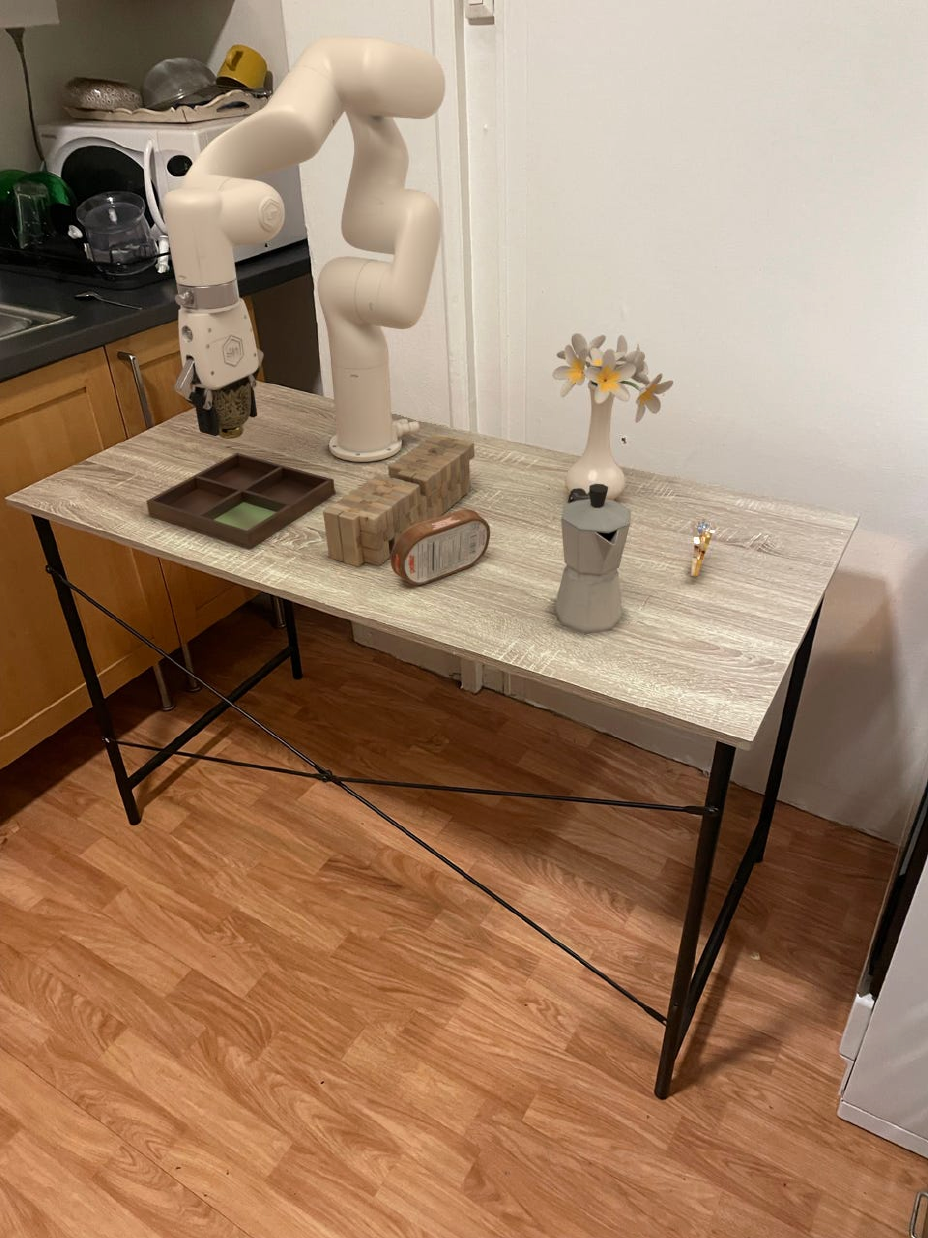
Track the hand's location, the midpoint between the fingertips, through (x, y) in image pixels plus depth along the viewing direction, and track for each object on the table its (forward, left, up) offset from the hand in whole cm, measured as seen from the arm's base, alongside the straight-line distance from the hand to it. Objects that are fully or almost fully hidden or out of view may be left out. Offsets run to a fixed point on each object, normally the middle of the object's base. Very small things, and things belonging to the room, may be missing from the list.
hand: (229, 423), depth 128 cm
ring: (-55, +37, -16) cm, 68 cm away
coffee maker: (-37, +39, -16) cm, 56 cm away
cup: (0, 0, -2) cm, 2 cm away
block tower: (-23, +8, -16) cm, 29 cm away
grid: (-1, -7, -16) cm, 17 cm away
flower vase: (-53, +13, -16) cm, 57 cm away
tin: (-23, +24, -16) cm, 37 cm away
